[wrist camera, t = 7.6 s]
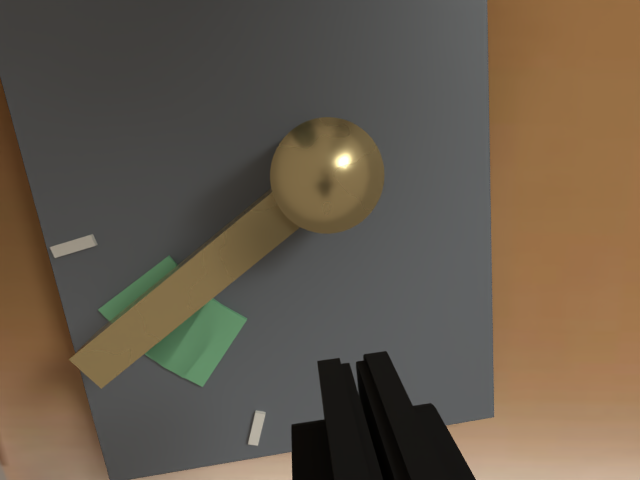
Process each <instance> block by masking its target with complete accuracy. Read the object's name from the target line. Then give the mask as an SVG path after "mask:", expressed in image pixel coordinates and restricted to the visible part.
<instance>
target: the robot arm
mask: <svg viewBox="0 0 640 480" xmlns="http://www.w3.org/2000/svg"><path fill="white" fill-rule="evenodd" d="M317 364H318V372H319V380H320V388H321V396H322V404H323V412H324V419H323V420H316V421H310V422H303V423H297V424H292V425H291V441H292V480H476V479H475V477H474V475H473V474H472V472H471V470H470V468H469V467H468V465H467V463H466V461H465V459H464V458H463V456H462V454H461V452H460V450H459V449H458V447H457V445H456V443H455V441H454V440H453V438H452V436H451V434H450V432H449V431H448V429H447V427H446V425H445V423H444V422H443V420H442V418H441V416H440V415H439V413H438V411H437V409H436V408H435V406H434V405H433V404H431V403H428V404H421V405H415V406H413V405H412V403H411V401H410V399H409V397H408V394H407V392H406V390H405V388H404V386H403V384H402V382H401V380H400V378H399V376H398V373H397V371H396V369H395V367H394V365H393V363H392V361H391V359H390V357H389V355H388V353H387V351H383V352H376V353H369V354H364V355H363V361H357V362H356V372H357V382H358V391H357V387H356V384H355V380H354V377H353V373H352V370H351V366H350V363H343V364H341V361H340V358H334V359H327V360H320V361H317ZM358 393H359V394H358Z"/></svg>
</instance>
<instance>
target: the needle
mask: <svg viewBox="0 0 640 480" xmlns="http://www.w3.org/2000/svg"><path fill="white" fill-rule="evenodd" d="M384 176H385V175H384V165H383V160H382V157H381V153H380V151H379V149H378V147H377V145H376V144H375V142H374V141H373V139H372V138H371V137H370V136H369V135H368V134H367V133H366V132H365V131H364V130H363V129H362V128H360V127H359V126H357V125H356V124H354V123H352V122H350V121H347V120H344V119H340V118H334V117H322V118H316V119H312V120H309V121H306V122H304V123H302V124H300V125H298V126H297V127H295V128H294V129H293V130H291V131H290V132H289V133H288V134H287V135H286V136H285V137H284V138H283V140H282V141H281V142H280V144H279V146H278V147H277V149H276V151H275V154H274V156H273V159H272V163H271V169H270V183H271V189H269V190H268V191H267V192H266V193H265V194H263V195H262V196H261V197H260V198H259V199H257V200H256V201H255V202H254V203H252V204H251V205H250V206H249V207H248V208H246V209H245V210H244V211H243V212H242V213H240V214H239V215H238V216H237V217H235V218H234V219H233V220H232V221H231V222H229V223H228V224H227V225H226V226H225V227H223V228H222V229H221V230H220V231H218V232H217V233H216V234H215V235H214V236H212V237H211V238H210V239H209V240H208V241H206V242H205V243H204V244H203V245H201V246H200V247H199V248H198V249H197V250H195V251H194V252H193V253H192V254H191V255H189V256H188V257H187V258H186V259H184V260H183V261H182V262H181V263H180V264H178V265H177V266H176V267H175V268H174V269H172V270H171V271H170V272H169V273H167V274H166V275H165V276H164V277H163V278H161V279H160V280H159V281H158V282H157V283H155V284H154V285H153V286H152V287H150V288H149V289H148V290H147V291H146V292H144V293H143V294H142V295H141V296H140V297H138V298H137V299H136V300H135V301H133V302H132V303H131V304H130V305H129V306H127V307H126V308H125V309H124V310H123V311H121V312H120V313H119V314H118V315H116V316H115V317H114V318H113V319H112V320H110V321H109V322H108V323H107V324H106V325H104V326H103V327H102V328H101V329H99V330H98V331H97V332H96V333H95V334H94V335H93V336H92V337H91V338H90V339H89V340H88V341H87V342H86V343H85V344H84V345H83V346H82V347H81V348H80V349H79V350H78V351H77V352H76V353H75V354H74V355H73V356H72V357H71V358H70V359H69V360H70V361H71V362H72V363H73V364H74V365H75V366H76V367H77V368H79V369H80V370H81V371H82V372H83V373H84V374H85V375H86V376H87V377H89V378H90V379H91V380H92V381H93V382H94V383H95V384H96V385H98V386H99V387H100V388H101V389H102V388H103V387H104V386H105V385H107V384H108V383H109V382H110V381H112V380H113V379H114V378H115V377H116V376H118V375H119V374H120V373H121V372H123V371H124V370H125V369H126V368H128V367H129V366H130V365H131V364H132V363H134V362H135V361H136V360H137V359H139V358H140V357H141V356H142V355H144V354H145V353H146V352H147V351H148V350H150V349H151V348H152V347H153V346H155V345H156V344H157V343H158V342H160V341H161V340H162V339H163V338H164V337H166V336H167V335H168V334H169V333H171V332H172V331H173V330H174V329H176V328H177V327H178V326H179V325H180V324H182V323H183V322H184V321H185V320H187V319H188V318H189V317H190V316H192V315H193V314H194V313H195V312H196V311H198V310H199V309H200V308H201V307H203V306H204V305H205V304H206V303H208V302H209V301H210V300H211V299H212V298H214V297H215V296H216V295H217V294H219V293H220V292H221V291H222V290H224V289H225V288H226V287H227V286H228V285H230V284H231V283H232V282H233V281H235V280H236V279H237V278H238V277H240V276H241V275H242V274H243V273H244V272H246V271H247V270H248V269H249V268H251V267H252V266H253V265H254V264H256V263H257V262H258V261H259V260H260V259H262V258H263V257H264V256H265V255H267V254H268V253H269V252H270V251H272V250H273V249H274V248H275V247H276V246H278V245H279V244H280V243H281V242H283V241H284V240H285V239H286V238H288V237H289V236H290V235H291V234H292V233H294V232H295V231H296V230H297V229H299V228H300V227H301V228H303V229H306V230H308V231H311V232H315V233H322V234H331V233H338V232H342V231H345V230H348V229H350V228H352V227H354V226H356V225H358V224H359V223H360V222H362V221H363V220H364V219H365V218H366V217H367V216H368V215H369V214H370V213H371V212H372V211H373V209H374V208H375V206H376V205H377V203H378V201H379V199H380V196H381V193H382V190H383V185H384Z"/></svg>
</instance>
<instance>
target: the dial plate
mask: <svg viewBox="0 0 640 480" xmlns="http://www.w3.org/2000/svg"><path fill="white" fill-rule="evenodd" d="M0 78H1V81H2V85H3V89H4V92H5V96H6V100H7V103H8V107H9V111H10V114H11V118H12V122H13V125H14V129H15V133H16V137H17V140H18V144H19V148H20V151H21V155H22V159H23V162H24V166H25V170H26V173H27V177H28V181H29V184H30V188H31V192H32V195H33V199H34V203H35V206H36V210H37V214H38V217H39V221H40V225H41V229H42V232H43V236H44V240H45V243H46V247H47V251H48V254H49V258H50V262H51V265H52V269H53V273H54V276H55V280H56V284H57V287H58V291H59V295H60V298H61V302H62V306H63V310H64V313H65V317H66V321H67V324H68V328H69V332H70V335H71V339H72V343H73V346H74V350H75V353H76V352H77V351H78V350H79V349H80V348H81V347H82V346H83V345H84V344H85V343H86V342H87V341H88V340H89V339H90V338H91V337H92V336H93V335H94V334H95V333H96V332H97V331H98V330H99V329H101V328H102V327H103V326H104V325H106V324H107V323H108V322H109V321H110V320H112V319H113V318H114V317H115V316H116V315H118V314H119V313H120V312H121V311H123V310H124V309H125V308H126V307H127V306H129V305H130V304H131V303H132V302H133V301H135V300H136V299H137V298H138V297H140V296H141V295H142V294H143V293H144V292H146V291H147V290H148V289H149V288H150V287H152V286H153V285H154V284H155V283H157V282H158V281H159V280H160V279H161V278H163V277H164V276H165V275H166V274H167V273H169V272H170V271H171V270H172V269H174V268H175V267H176V266H177V265H178V264H180V263H181V262H182V261H183V260H184V259H186V258H187V257H188V256H189V255H191V254H192V253H193V252H194V251H195V250H197V249H198V248H199V247H200V246H201V245H203V244H204V243H205V242H206V241H208V240H209V239H210V238H211V237H212V236H214V235H215V234H216V233H217V232H218V231H220V230H221V229H222V228H223V227H225V226H226V225H227V224H228V223H229V222H231V221H232V220H233V219H234V218H235V217H237V216H238V215H239V214H240V213H242V212H243V211H244V210H245V209H246V208H248V207H249V206H250V205H251V204H252V203H254V202H255V201H256V200H257V199H259V198H260V197H261V196H262V195H263V194H265V193H266V192H267V191H268V190H269V189H271V183H270V169H271V163H272V159H273V156H274V154H275V151H276V149H277V147H278V146H279V144H280V142H281V141H282V140H283V138H284V137H285V136H286V135H287V134H288V133H289V132H290V131H291V130H293V129H294V128H295V127H297V126H298V125H300V124H302V123H304V122H306V121H309V120H312V119H316V118H322V117H334V118H340V119H344V120H347V121H350V122H352V123H354V124H356V125H357V126H359V127H360V128H362V129H363V130H364V131H365V132H366V133H367V134H368V135H369V136H370V137H371V138H372V139H373V141H374V142H375V144H376V145H377V147H378V149H379V151H380V153H381V157H382V160H383V165H384V175H385V176H384V185H383V190H382V193H381V196H380V199H379V201H378V203H377V205H376V206H375V208H374V209H373V211H372V212H371V213H370V214H369V215H368V216H367V217H366V218H365V219H364V220H363V221H362V222H360V223H359V224H358V225H356V226H354V227H352V228H350V229H348V230H345V231H342V232H338V233H331V234H322V233H315V232H311V231H308V230H306V229H303V228H301V227H300V228H299V229H297V230H296V231H295V232H294V233H292V234H291V235H290V236H289V237H288V238H286V239H285V240H284V241H283V242H281V243H280V244H279V245H278V246H276V247H275V248H274V249H273V250H272V251H270V252H269V253H268V254H267V255H265V256H264V257H263V258H262V259H260V260H259V261H258V262H257V263H256V264H254V265H253V266H252V267H251V268H249V269H248V270H247V271H246V272H244V273H243V274H242V275H241V276H240V277H238V278H237V279H236V280H235V281H233V282H232V283H231V284H230V285H228V286H227V287H226V288H225V289H224V290H222V291H221V292H220V293H219V294H217V295H216V296H215V297H214V298H212V299H211V300H210V301H209V302H208V303H206V304H205V305H204V306H203V307H201V308H200V309H199V310H198V311H196V312H195V313H194V314H193V315H192V316H190V317H189V318H188V319H187V320H185V321H184V322H183V323H182V324H180V325H179V326H178V327H177V328H176V329H174V330H173V331H172V332H171V333H169V334H168V335H167V336H166V337H164V338H163V339H162V340H161V341H160V342H158V343H157V344H156V345H155V346H153V347H152V348H151V349H150V350H148V351H147V352H146V353H145V354H144V355H142V356H141V357H140V358H139V359H137V360H136V361H135V362H134V363H132V364H131V365H130V366H129V367H128V368H126V369H125V370H124V371H123V372H121V373H120V374H119V375H118V376H116V377H115V378H114V379H113V380H112V381H110V382H109V383H108V384H107V385H105V386H104V387H103V388H102V389H101V388H100V387H99V386H98V385H96V384H95V383H94V382H93V381H92V380H91V379H90V378H89V377H87V376H86V375H85V374H84V373H83V372H82V371H81V370H80V372H81V376H82V379H83V383H84V387H85V390H86V394H87V398H88V402H89V405H90V409H91V413H92V416H93V420H94V424H95V427H96V431H97V435H98V438H99V442H100V446H101V449H102V453H103V457H104V460H105V464H106V468H107V471H108V475H109V479H110V480H130V479H135V478H141V477H147V476H153V475H159V474H165V473H170V472H176V471H182V470H188V469H194V468H200V467H205V466H211V465H217V464H223V463H229V462H235V461H241V460H246V459H252V458H258V457H264V456H270V455H276V454H281V453H287V452H292V441H291V425H292V424H297V423H303V422H310V421H316V420H323V419H324V412H323V404H322V396H321V388H320V380H319V372H318V364H317V361H320V360H327V359H334V358H340V361H341V364H343V363H350V366H351V370H352V373H353V377H354V380H355V384H356V387H357V391H358V382H357V372H356V362H357V361H363V355H364V354H369V353H376V352H383V351H387V353H388V355H389V357H390V359H391V361H392V363H393V365H394V367H395V369H396V371H397V373H398V376H399V378H400V380H401V382H402V384H403V386H404V388H405V390H406V392H407V394H408V397H409V399H410V401H411V403H412V405H413V406H415V405H421V404H428V403H431V404H433V405H434V406H435V408H436V409H437V411H438V413H439V415H440V416H441V418H442V420H443V422H444V423H445V425H451V424H457V423H462V422H468V421H474V420H480V419H486V418H492V417H494V383H493V323H492V263H491V203H490V143H489V83H488V23H487V0H0ZM358 394H359V393H358Z"/></svg>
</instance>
